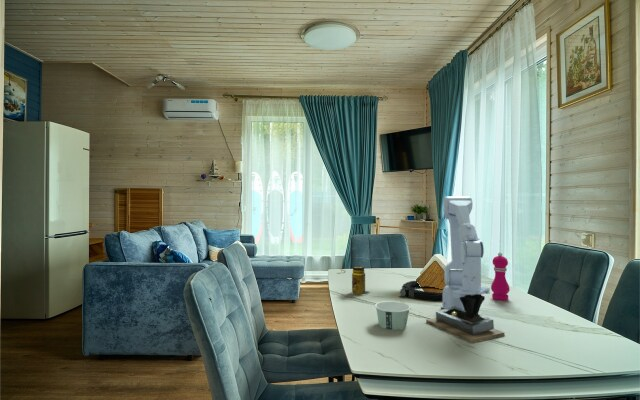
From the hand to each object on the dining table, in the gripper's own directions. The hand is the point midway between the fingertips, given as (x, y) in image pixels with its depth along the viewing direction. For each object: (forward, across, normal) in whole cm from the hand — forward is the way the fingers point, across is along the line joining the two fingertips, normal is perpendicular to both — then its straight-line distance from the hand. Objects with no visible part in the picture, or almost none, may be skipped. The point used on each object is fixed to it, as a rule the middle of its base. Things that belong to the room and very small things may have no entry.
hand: (471, 317), depth 123 cm
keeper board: (+3, -4, 0) cm, 5 cm away
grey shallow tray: (+2, -4, 0) cm, 4 cm away
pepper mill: (+4, +39, +21) cm, 45 cm away
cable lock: (+4, +18, +41) cm, 45 cm away
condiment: (+4, -11, +55) cm, 56 cm away
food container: (+4, -23, +13) cm, 27 cm away
